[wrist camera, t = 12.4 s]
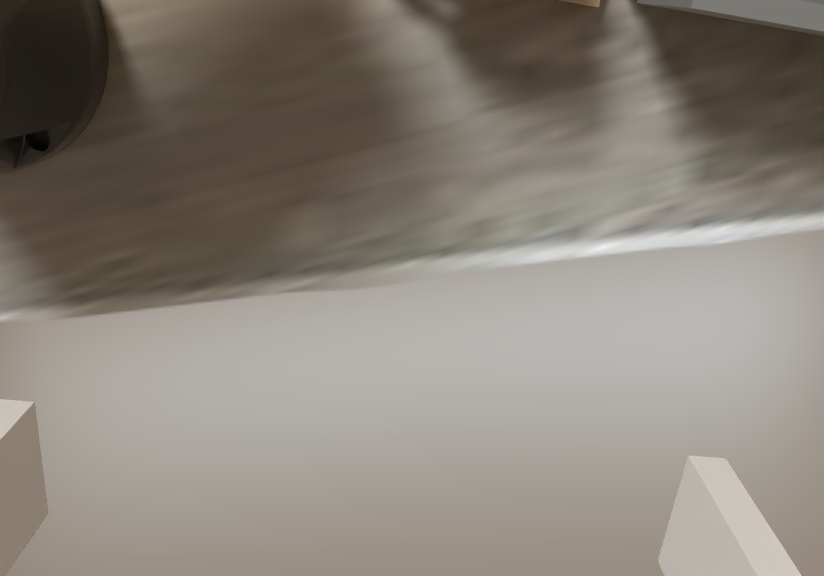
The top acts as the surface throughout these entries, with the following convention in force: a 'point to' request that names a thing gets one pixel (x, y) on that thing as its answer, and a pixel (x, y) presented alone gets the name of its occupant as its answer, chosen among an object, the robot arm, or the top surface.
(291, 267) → the top surface
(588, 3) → the beige square panel
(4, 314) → the top surface
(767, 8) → the case
